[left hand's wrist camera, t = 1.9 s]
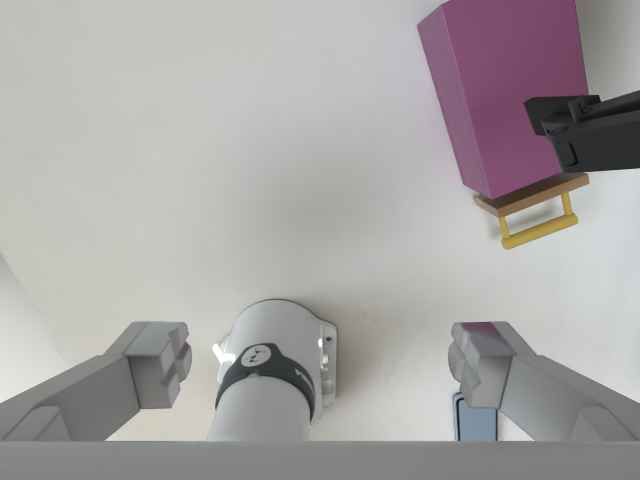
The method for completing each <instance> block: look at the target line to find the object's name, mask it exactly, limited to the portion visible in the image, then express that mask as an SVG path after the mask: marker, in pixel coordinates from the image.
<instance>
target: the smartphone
mask: <svg viewBox="0 0 640 480" xmlns="http://www.w3.org/2000/svg"><path fill="white" fill-rule="evenodd" d="M453 400H454V417H455V433H456V441H499V409H476V408H469V407H468V405H467V403H466V401H465V399H464V397H463V395H462V394H458V395H456V396H455V397H454V399H453Z"/></svg>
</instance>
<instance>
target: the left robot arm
mask: <svg viewBox="0 0 640 480" xmlns="http://www.w3.org/2000/svg"><path fill="white" fill-rule="evenodd" d="M188 335H189V332H188V328H187V324H186V323H184V322H155V321H152V322H150V321H136V322H133V323H131V324H130V325H129V326H128V327H127V329H126V330H125V331H124V332H123V333H122V334H121V335H120V336H119V337H118V339H117V340H116V341H115V342H114V343H113V344H112V345H111V346H110V348H109V349H108V350H107V351H106V352H105V353H104V354H103V355H99V356H95V357H93V358H91V359H89V360H87V361H85V362H83V363H81V364H79V365H77V366H75V367H73V368H71V369H69V370H67V371H65V372H63V373H61V374H59V375H57V376H55V377H53V378H51V379H49V380H47V381H45V382H43V383H41V384H39V385H37V386H35V387H33V388H31V389H28V390H27V391H24V392H22V393H20V394H18V395H16V396H14V397H12V398H10V399H8V400H6V401H4V402H2V403H0V480H640V404H639V403H637V402H635V401H633V400H631V399H629V398H627V397H625V396H623V395H621V394H619V393H617V392H615V391H613V390H611V389H609V388H607V387H605V386H603V385H601V384H599V383H597V382H595V381H593V380H591V379H589V378H587V377H585V376H583V375H581V374H579V373H577V372H575V371H573V370H571V369H569V368H567V367H565V366H563V365H561V364H559V363H557V362H555V361H553V360H551V359H549V358H547V357H545V356H541V355H537V354H536V353H535V352H534V351H533V350H532V349H531V348H530V346H529V345H528V344H527V343H526V342H525V341H524V340H523V339H522V337H521V336H520V335H519V334H518V333H517V332H516V331H515V330H514V329H513V327H512V326H511V325H510V324H509V323H507V322H505V321H494V322H459V323H454V325H453V327H452V332H451V335H452V336H453V338H454V340H455V341H454V342H453V343H452V344H451V345H450V346H449V352H448V361H449V367H450V371H451V373H452V375H453V377H454V379H456V380H457V381H458V382H460V383H461V385H460V392H461V393H462V395H463V397H464V399H465V401H466V403H467V405H468V407H469V408H476V409H500V411H501V412H502V413H503V414H504V415H506V416H507V417H508V418H509V419H510V420H512V421H513V422H514V423H515V424H516V425H517V426H519V427H520V428H521V429H522V430H523V431H525V432H526V433H527V434H528V435H529V436H531V437H532V438H533V439H534V440H535V441H310V425H311V424H313V423H315V422H316V421H318V420H319V419H320V418H321V417H322V415H323V408H325V407H327V406H328V405H330V404H331V403H333V402H334V401H335V395H336V350H337V329H336V327H335V326H334V325H333V324H331V323H329V322H326V321H323V320H320V319H318V318H317V317H315V316H314V315H313V314H312V313H311V312H309V311H308V310H307V309H305V308H304V307H302V306H300V305H298V304H295V303H293V302H289V301H284V300H267V301H262V302H259V303H256V304H254V305H252V306H250V307H248V308H247V309H246V310H244V311H243V312H242V313H241V314H240V315H239V317H238V318H237V320H236V321H235V323H234V326H233V329H232V331H231V333H230V335H228V336H227V337H226V338H225V339H224V340H223V341H222V342H221V344H220V347H219V348H218V346H217V344H215V345H214V347H213V350H214V352H215V353H216V355H217V357H218V358H219V360H220V362H221V365H220V369H219V373H218V377H217V381H218V383H220V386H219V389H218V393H217V399H216V404H215V409H216V412H215V415H214V418H213V421H212V424H211V426H210V429H209V432H208V435H207V438H206V441H105V440H106V439H107V438H108V437H109V436H111V435H112V434H113V433H114V432H115V431H117V430H118V429H119V428H120V427H121V426H123V425H124V424H125V423H126V422H127V421H129V420H130V419H131V418H132V417H133V416H135V415H136V414H137V413H138V412H139V411H140V409H163V408H171V407H172V405H173V403H174V401H175V399H176V397H177V395H178V393H179V392H180V385H179V383H180V382H182V381H183V380H184V379H186V377H187V375H188V373H189V371H190V367H191V362H192V351H191V346H190V345H189V344H188V343H187V342H186V341H185V340H186V338H187V336H188ZM327 337H330V339H327Z"/></svg>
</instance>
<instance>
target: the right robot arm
mask: <svg viewBox="0 0 640 480" xmlns="http://www.w3.org/2000/svg"><path fill="white" fill-rule="evenodd" d="M523 104H524V106H525V109H526V112H527V114H528V117H529V119H530V122H531V124H532V127H533V130H534V132H535V135H539V136H546V137H547V139H548V140H549V141H551V143H552V146H553V149H554V151H555V154H556V157H557V159H558V162H559V165H560V167H561V170H562V172H563V173H579V172H593V171H608V170H622V169H637V168H640V90H639V91H636V92H633V93H629V94H626V95H623V96H619V97H616V98H613V99H610V100H606V101H603V102H601V100H600V97H599V95H584V94H583V95H580V96H552V97H532V98H531V99H529V100H527V101H526V102H524V103H523Z"/></svg>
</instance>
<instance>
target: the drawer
mask: <svg viewBox="0 0 640 480" xmlns="http://www.w3.org/2000/svg"><path fill="white" fill-rule="evenodd" d="M587 184H589V178H588V174H586V173H582V172H579V173H563V172H560V173H557V174H555V175H552V176H550V177H547V178H545V179H542V180H540V181H537V182H535V183H532V184H530V185H527V186H525V187H522V188H520V189H517V190H515V191H512V192H510V193H507V194H505V195H502V196H500V197H497V198H495V199H491V198H489V197H486V196H485V195H483V194H480V195H478V196H475V200H476V203H477V205H478V206H480V207H482V208H483V209H485V210H486V211H488V212H490V213H491V214H493V215H495V216H496V217H498V220H499V223H500V227H501V231H502V235H503V238H502V239H501V243H502V245H503V247H504V248H505V249H506V250H508V249H511V248H514V247H516V246H519V245H522V244H524V243H527V242H530V241H532V240H535V239H538V238H540V237H543V236H546V235H548V234H551V233H554V232H556V231H559V230H562V229H564V228H567V227H570V226H572V225H575V224H577V223H578V219H577V217H576V215H575V214H574V213H572V210H571V204H570V199H569V193H568V192H569V191H571V190H574V189H576V188H579V187H581V186H584V185H587ZM558 195H561V198H562V203H563V208H564V213H565V215H562V216H560V217H557V218H554V219H552V220H549V221H547V222H544V223H541V224H539V225H536V226H533V227H531V228H528V229H526V230H523V231H520V232H518V233H515V234H512V235H510V236H509V232H508V228H507V224H506V220H505V217H504V216H507V215H510V214H512V213H515V212H517V211H520V210H522V209H525V208H528V207H530V206H533V205H535V204H538V203H540V202H543V201H546V200H548V199H551V198H553V197H556V196H558Z"/></svg>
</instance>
